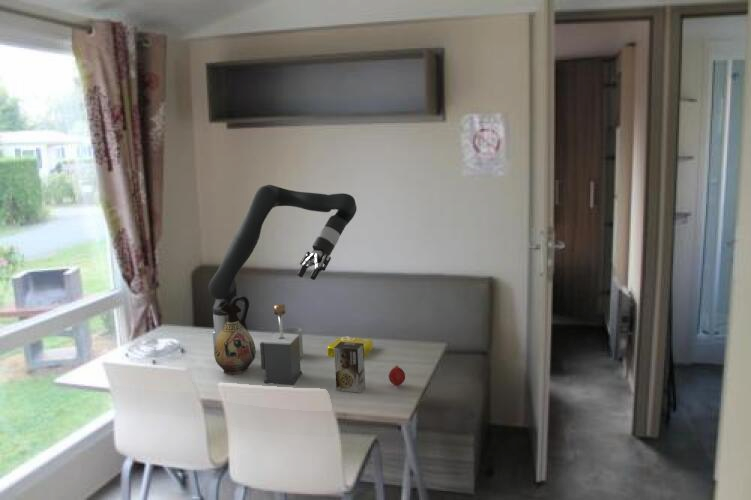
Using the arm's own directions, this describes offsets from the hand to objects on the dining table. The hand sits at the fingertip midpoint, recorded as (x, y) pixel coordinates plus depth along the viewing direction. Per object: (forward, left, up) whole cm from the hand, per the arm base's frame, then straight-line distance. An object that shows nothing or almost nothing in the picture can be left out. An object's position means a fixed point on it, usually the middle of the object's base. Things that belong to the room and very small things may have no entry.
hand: (305, 277), depth 245 cm
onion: (+36, -12, -36) cm, 52 cm away
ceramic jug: (-27, -5, -36) cm, 46 cm away
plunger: (-7, -10, -27) cm, 30 cm away
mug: (-13, +14, -36) cm, 41 cm away
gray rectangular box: (-8, -10, -36) cm, 38 cm away
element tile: (+11, +21, -37) cm, 44 cm away
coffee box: (+20, -16, -36) cm, 44 cm away
